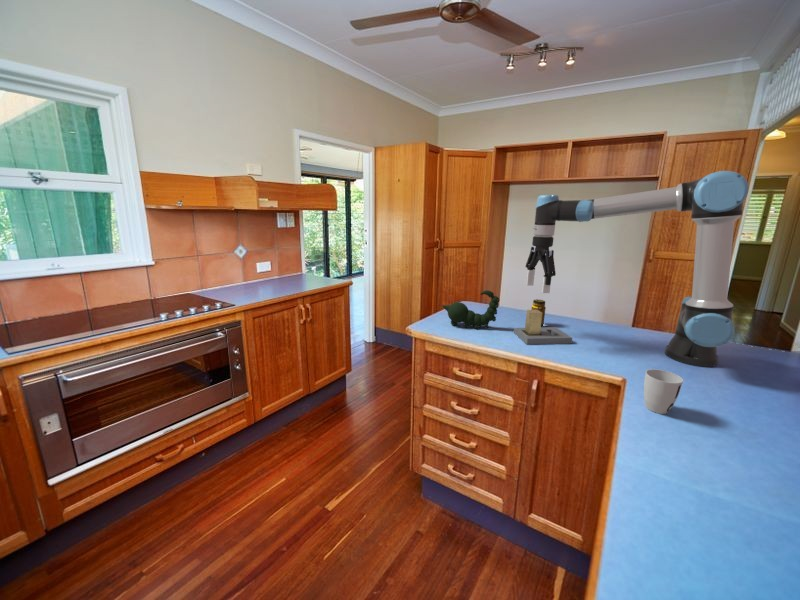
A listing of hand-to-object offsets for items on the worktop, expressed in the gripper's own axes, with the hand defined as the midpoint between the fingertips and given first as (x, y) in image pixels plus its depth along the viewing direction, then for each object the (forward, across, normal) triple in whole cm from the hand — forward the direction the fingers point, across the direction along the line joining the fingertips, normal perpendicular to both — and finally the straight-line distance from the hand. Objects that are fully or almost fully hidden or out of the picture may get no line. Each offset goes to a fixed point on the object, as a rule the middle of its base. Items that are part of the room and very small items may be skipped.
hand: (537, 289), depth 141 cm
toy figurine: (+22, -17, -23) cm, 35 cm away
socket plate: (+22, 0, +4) cm, 22 cm away
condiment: (+22, -17, +11) cm, 30 cm away
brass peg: (+22, 0, 0) cm, 22 cm away
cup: (+22, +54, +10) cm, 59 cm away
